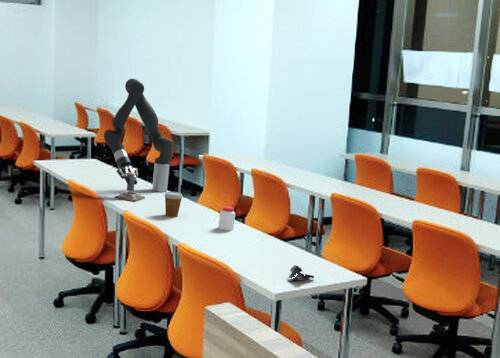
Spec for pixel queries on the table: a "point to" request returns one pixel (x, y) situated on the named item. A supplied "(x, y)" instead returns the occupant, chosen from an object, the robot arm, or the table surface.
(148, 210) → the table surface
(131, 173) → the plug
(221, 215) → the pill bottle
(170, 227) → the table surface
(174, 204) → the disposable coffee cup
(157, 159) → the robot arm
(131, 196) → the socket plate
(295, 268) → the black spring clamp
